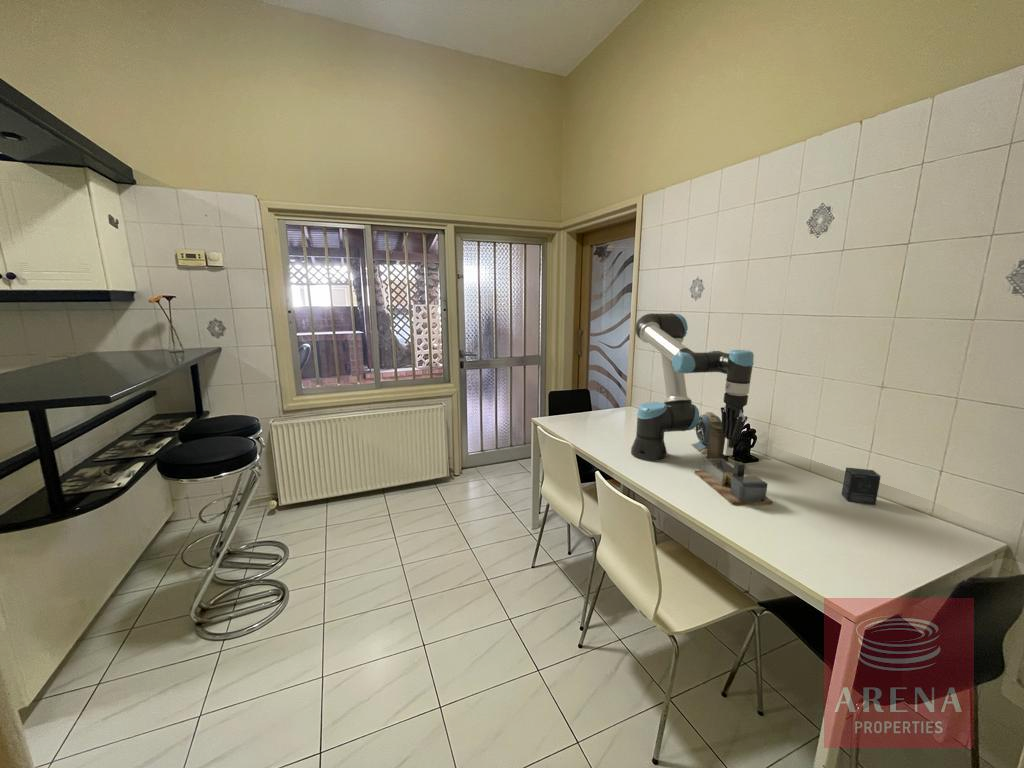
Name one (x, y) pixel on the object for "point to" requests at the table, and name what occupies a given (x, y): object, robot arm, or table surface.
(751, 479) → the socket
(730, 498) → the board
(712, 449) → the container
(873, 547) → the table surface
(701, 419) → the alarm clock
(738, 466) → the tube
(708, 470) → the grey tilted block
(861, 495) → the box
